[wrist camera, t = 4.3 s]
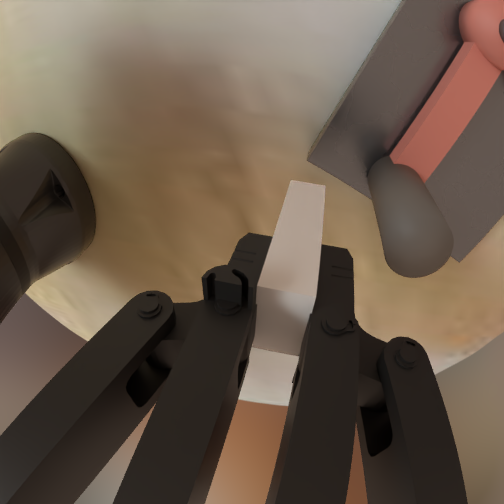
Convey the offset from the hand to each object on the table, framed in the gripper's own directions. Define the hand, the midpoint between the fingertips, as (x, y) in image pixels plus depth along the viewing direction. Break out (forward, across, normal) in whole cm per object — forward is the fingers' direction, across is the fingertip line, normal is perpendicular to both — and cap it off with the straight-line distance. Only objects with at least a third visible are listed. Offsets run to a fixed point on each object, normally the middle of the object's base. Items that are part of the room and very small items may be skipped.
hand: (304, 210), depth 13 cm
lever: (+6, +9, +5) cm, 12 cm away
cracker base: (+8, +11, +9) cm, 16 cm away
